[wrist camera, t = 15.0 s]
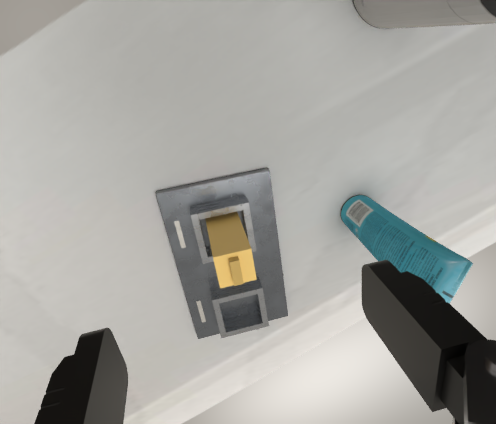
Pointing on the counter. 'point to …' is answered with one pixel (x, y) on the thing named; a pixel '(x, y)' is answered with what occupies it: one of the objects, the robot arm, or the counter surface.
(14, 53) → the counter surface
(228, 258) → the plug
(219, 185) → the panel
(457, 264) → the tube
